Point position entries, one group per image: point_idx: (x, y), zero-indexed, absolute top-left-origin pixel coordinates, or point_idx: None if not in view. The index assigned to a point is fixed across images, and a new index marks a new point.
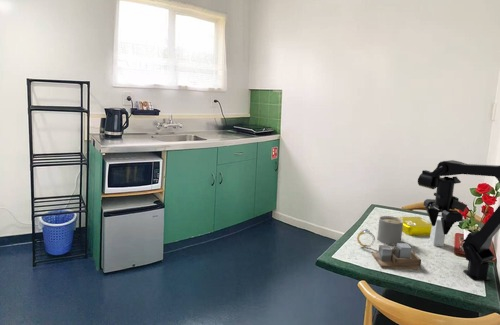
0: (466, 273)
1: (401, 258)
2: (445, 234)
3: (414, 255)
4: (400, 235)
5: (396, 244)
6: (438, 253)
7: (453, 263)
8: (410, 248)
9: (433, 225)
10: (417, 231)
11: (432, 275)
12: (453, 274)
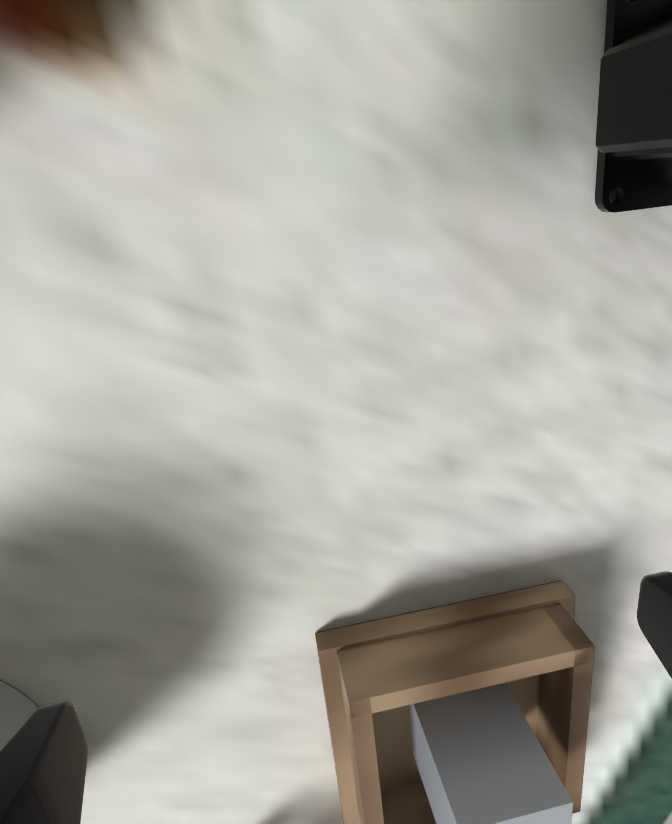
0: (665, 205)
1: (571, 777)
2: (658, 596)
3: (498, 682)
4: None
5: (33, 709)
6: (131, 309)
7: (402, 229)
8: (567, 801)
9: (78, 739)
10: None
11: (655, 522)
12: (645, 339)
